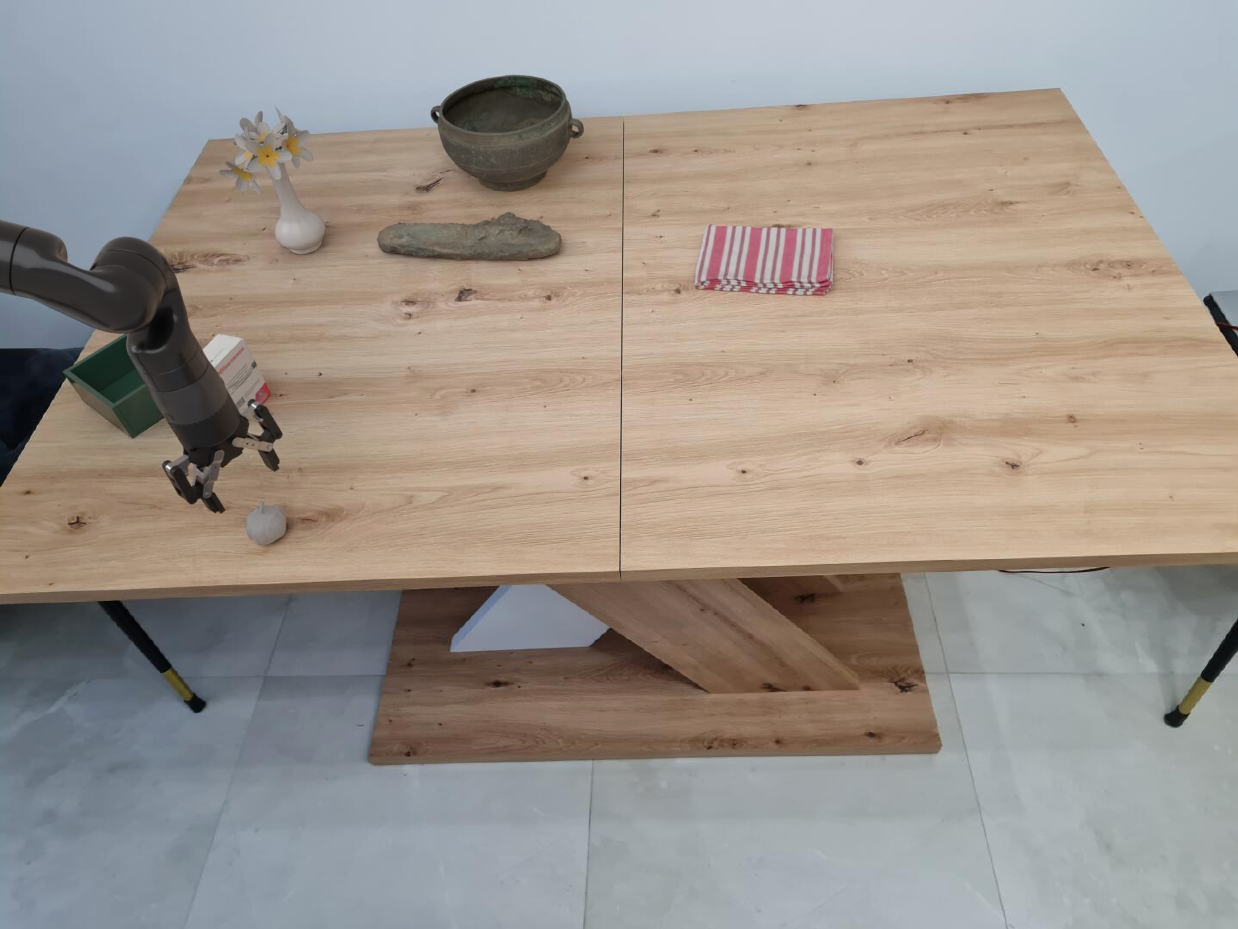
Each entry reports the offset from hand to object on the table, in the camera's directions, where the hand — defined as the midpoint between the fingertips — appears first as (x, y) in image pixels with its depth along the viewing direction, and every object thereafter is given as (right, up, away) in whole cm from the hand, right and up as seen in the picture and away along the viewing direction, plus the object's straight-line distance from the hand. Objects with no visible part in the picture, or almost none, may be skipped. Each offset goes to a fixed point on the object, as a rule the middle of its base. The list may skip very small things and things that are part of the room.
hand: (246, 488), depth 117 cm
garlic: (+1, -7, +7) cm, 10 cm away
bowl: (+27, +62, +67) cm, 95 cm away
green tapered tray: (-28, +15, +28) cm, 42 cm away
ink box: (-11, +12, +25) cm, 29 cm away
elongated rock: (+21, +43, +50) cm, 69 cm away
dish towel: (+74, +38, +40) cm, 92 cm away
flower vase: (-11, +44, +54) cm, 70 cm away
